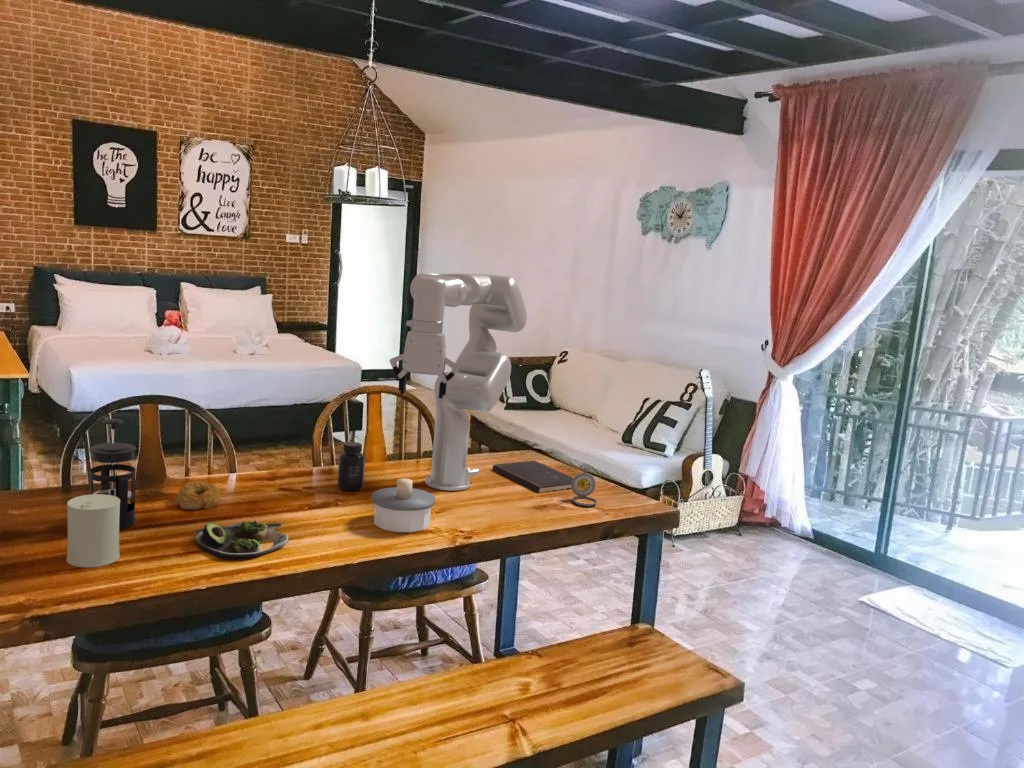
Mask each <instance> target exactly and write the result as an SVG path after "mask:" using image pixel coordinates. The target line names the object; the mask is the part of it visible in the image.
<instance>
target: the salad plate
mask: <svg viewBox="0 0 1024 768" xmlns="http://www.w3.org/2000/svg"><path fill="white" fill-rule="evenodd" d="M281 527H282V523H280V522H273V523H272V522H271V523H266V521H265V520H263V521H262V522H261V523H260V522H258V521H257V520H254V521H242V522H236V523H233V524H228V525H225V526H222V525H220V524H218V523H216V522H213V521H212V522H211V521H210V522H207V523H206V524H205V526H204V527H203V528H198V529H195V530H192V533H195V535H196V536H195V543H196V545H197V546H198V548H199V549H200V550H202V551H204V552H206V553H207V554H210V555H212V556H214V557H216V558H220V559H223V560H224V559H225V560H230V561H232V560H233V561H242V560H243V561H244V560H250V559H255V558H258V557H260V556H263V555H266V554H268V553H269V554H270V553H271V552H273V551H276V550H277V549H280V548H282V547H284V546H285V545H287V544H288V542H289V536H288V535H286V534H285V533H283V532H279V531H277V530H276V529H278V528H281ZM264 541H266V542H271V543H272V546H271V547H269V548H267V549H264V550H262V544H261V543H263V542H264Z"/></svg>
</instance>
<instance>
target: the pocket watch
mask: <svg viewBox="0 0 1024 768" xmlns="http://www.w3.org/2000/svg"><path fill="white" fill-rule="evenodd" d="M583 466H587V467H584V468H582V467H583ZM590 467H591V466H590V465H589V464H586V463H585V464H581V465H580V469H581V470H582V471H583V472H580V473H577V474H576V475H575V476H573V477H572V478H573V480H572V484H571V487H572V488H571V490H572V491H573V493H574V494H575V495H576V496H574V497H572V502H573V503H574V504H575V505H579V506H581V505H582V506H583V507H594V506H596V505H597V503H598V501H597V500H596V498H593V497H590V495H591V494H592V493H593V492H594V491H595V488H596V481H595V478H594V477H593V476H592V475H591V474H589V473H587V471H588V470H590ZM578 486H579V487H578ZM581 489H582V490H581ZM577 499H587V500H590V501H593V502H595V503H593V504H584V503H579V502H576V501H575V500H577ZM593 505H594V506H593Z"/></svg>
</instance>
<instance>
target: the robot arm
mask: <svg viewBox="0 0 1024 768" xmlns="http://www.w3.org/2000/svg"><path fill="white" fill-rule="evenodd" d="M409 287H410V288H409V289H410V290H409V291H410V294H411V297H412V299H413V308H412V319H410V320H406V323H405V326H406V327H410V331H408V332H407V335H406V340H405V344H404V351H403V353H402V354H399V355H396V356H394V357H392V358H390V359H389V363H390V366H391V368H392V371H393V373H395V375H396V376H397V377H398V379H399V380H398V391H400V393H399V394H400V395H404V394H406V390H407V377H406V375H407V374H408V373H412V374H418V375H419V374H421V375H422V374H423V375H429V376H437V377H436V379H435V382H434V386H433V387H434V389H433V390H434V400H435V423H434V433H433V434H434V435H433V446H432V457H431V471H430V475H427V476H426V477H425V478H424V484H425V485H426V486H427V487H430V488H432V489H434V490H435V489H436V490H440V491H449V492H451V491H452V492H454V491H463V490H466V489H468V488H469V487H471V481H470V480H469V478H471V477H475V476H479V475H480V470H479V469H478V468H472V469H470V468H469V467H467V462H468V461H467V459H468V458H467V457H468V449H469V437H470V419H469V416H468V414H467V413H466V410H468V411H473V412H480V413H488V412H490V411H492V410H493V409H494V407H495V406H496V404H497V403H498V401H499V399H500V397H501V396H502V394H503V392H504V391H505V388H506V387H507V384H508V383H509V381H510V377H511V374H512V373H511V372H512V363H511V362H512V361H511V360H510V358H509V356H507V354H504V353H501V352H497V348H498V347H497V343H496V341H495V340H496V339H495V338H494V337H493V336H492V334H491V332H490V331H489V330H495V331H501V332H509V333H519V332H521V331H522V330H523V329H524V328H525V326H526V324H527V320H528V318H527V317H528V316H527V308H526V305H525V302H524V301H525V300H524V298H523V295H522V291H521V289H520V287H519V284H518V283H517V281H516V280H515V279H514V278H513V277H510V276H508V275H498V274H489V273H435V272H434V273H431V272H430V273H429V272H428V273H427V272H426V273H424V272H421V273H419V274H416V275H415V277H414V278H413V279H412V281H411V283H410V286H409ZM460 306H470V308H469V313H468V314H469V315H468V330H469V332H468V333H469V339H468V341H467V343H466V344H465V346H464V347H463V349H462V350H461V352H460V353H459V355H458V357H457V358H456V360H455V361H452V360H451V359H449V358H447V356H446V355H447V354H446V352H447V351H446V350H447V349H446V348H447V346H446V344H447V343H446V336H445V334H444V333H443V329H444V316H445V307H448V308H455V307H460ZM400 361H402V369H401V368H400V367H399V366H398V362H400ZM446 366H448V367H449V368H451V371H446V372H445V370H446Z"/></svg>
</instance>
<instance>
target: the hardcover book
mask: <svg viewBox="0 0 1024 768" xmlns="http://www.w3.org/2000/svg"><path fill="white" fill-rule="evenodd" d="M491 469H492V471H493V472H495V473H498V474H499V475H501V476H503V477H505V478H507V479H509V480H512V481H513V482H515V483H517V484H519V485H522V486H523V487H525V488H528V489H529V490H531V491H533V492H535V491H536V493H537V492H538V493H537V494H540V492H541V493H546V491H548V492H554V491H553V490H556V491H562V490H561V489H563V490H568V489H567V488H571V489H572V487H571V484H572V480H573V478H574V477H572V476H570V475H568V474H566V473H564V472H561V471H559V470H556V469H554V468H553V467H551V466H548V465H545V464H543V463H541V462H538V461H536V460H528V461H515V462H508V463H507V462H505V463H495V464H493V465H492V468H491ZM578 487H579V486H578Z"/></svg>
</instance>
